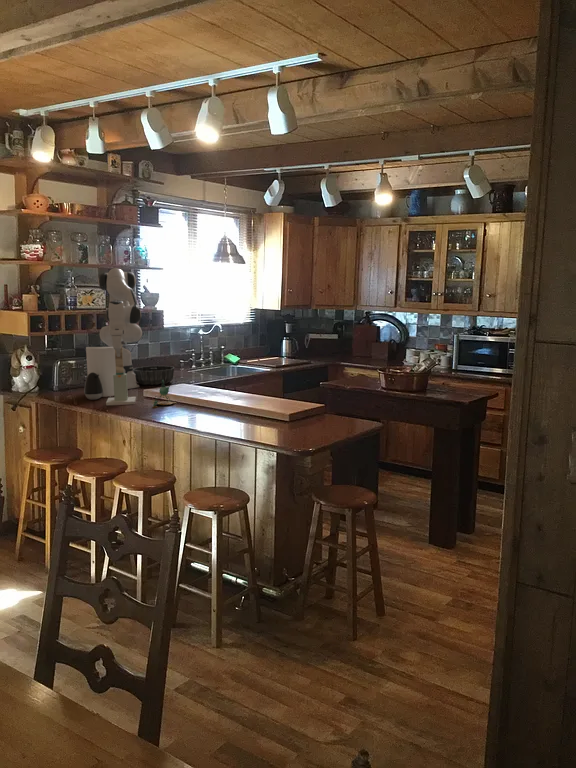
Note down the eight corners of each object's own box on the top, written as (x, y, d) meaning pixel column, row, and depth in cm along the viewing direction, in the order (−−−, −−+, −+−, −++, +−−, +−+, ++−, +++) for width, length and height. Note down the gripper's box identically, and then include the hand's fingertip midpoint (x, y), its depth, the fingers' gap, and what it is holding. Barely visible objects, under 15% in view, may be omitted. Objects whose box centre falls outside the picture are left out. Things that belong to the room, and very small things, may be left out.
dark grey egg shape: (92, 401, 380) (90, 374, 377) (81, 399, 386) (79, 372, 384) (107, 398, 388) (105, 372, 385) (95, 396, 394) (94, 370, 392)
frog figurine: (143, 406, 363) (144, 379, 362) (170, 405, 376) (171, 378, 375) (154, 408, 356) (155, 380, 355) (181, 407, 370) (182, 380, 369)
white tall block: (114, 396, 393) (112, 348, 389) (84, 396, 394) (81, 348, 389) (122, 391, 410) (120, 345, 406) (93, 391, 411) (91, 345, 406)
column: (115, 387, 377) (113, 340, 373) (126, 386, 378) (124, 340, 374) (114, 389, 371) (112, 341, 367) (125, 388, 372) (123, 341, 368)
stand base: (108, 400, 382) (107, 372, 379) (136, 399, 384) (134, 372, 382) (106, 405, 367) (104, 376, 365) (134, 404, 370) (133, 375, 367)
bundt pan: (124, 385, 432) (124, 369, 430) (148, 379, 456) (148, 364, 454) (160, 387, 422) (159, 371, 420) (182, 381, 446) (182, 366, 444)
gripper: (113, 329, 379) (114, 354, 381) (110, 332, 359) (111, 358, 361) (124, 329, 380) (126, 353, 382) (122, 332, 360) (123, 358, 362)
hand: (119, 356), depth 372 cm, fingers closed on column, 4 cm apart
